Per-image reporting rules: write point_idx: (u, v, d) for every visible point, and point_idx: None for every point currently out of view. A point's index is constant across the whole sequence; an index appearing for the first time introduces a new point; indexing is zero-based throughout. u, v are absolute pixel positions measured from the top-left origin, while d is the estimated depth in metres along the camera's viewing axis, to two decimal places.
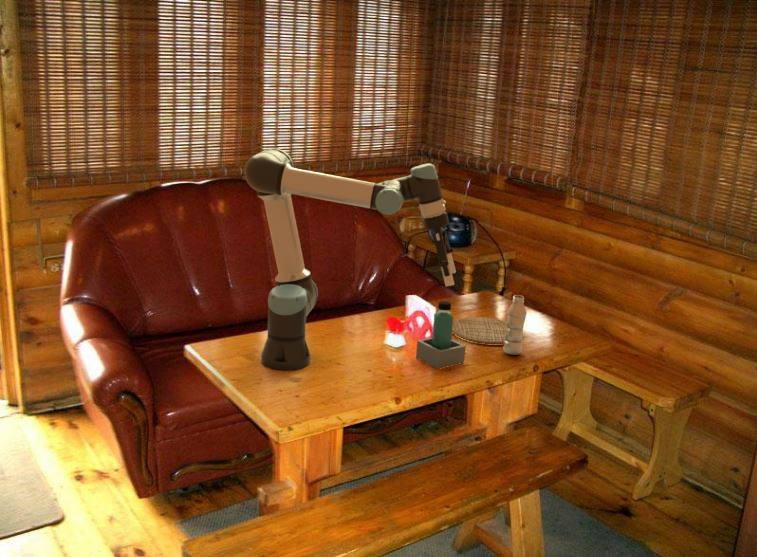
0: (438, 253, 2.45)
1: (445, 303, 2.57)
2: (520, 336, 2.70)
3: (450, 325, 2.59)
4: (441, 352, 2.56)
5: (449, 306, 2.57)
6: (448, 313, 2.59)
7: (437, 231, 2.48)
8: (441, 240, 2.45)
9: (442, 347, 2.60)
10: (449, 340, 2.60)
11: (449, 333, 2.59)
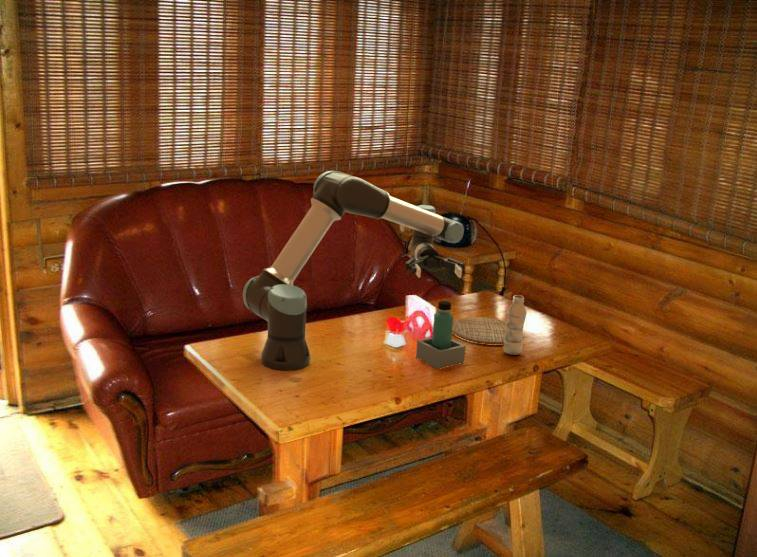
0: None
1: (445, 303, 2.57)
2: (520, 336, 2.70)
3: (450, 325, 2.59)
4: (441, 352, 2.56)
5: (449, 306, 2.57)
6: (448, 313, 2.59)
7: None
8: None
9: (442, 347, 2.60)
10: (449, 340, 2.60)
11: (449, 333, 2.59)
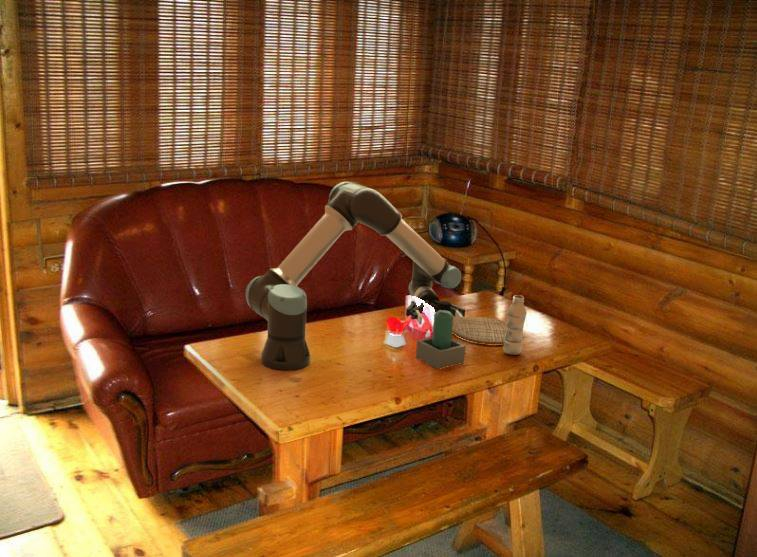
0: None
1: (445, 303, 2.57)
2: (520, 336, 2.70)
3: (450, 325, 2.59)
4: (441, 352, 2.56)
5: (449, 306, 2.57)
6: (448, 313, 2.59)
7: None
8: None
9: (442, 347, 2.60)
10: (449, 340, 2.60)
11: (449, 333, 2.59)
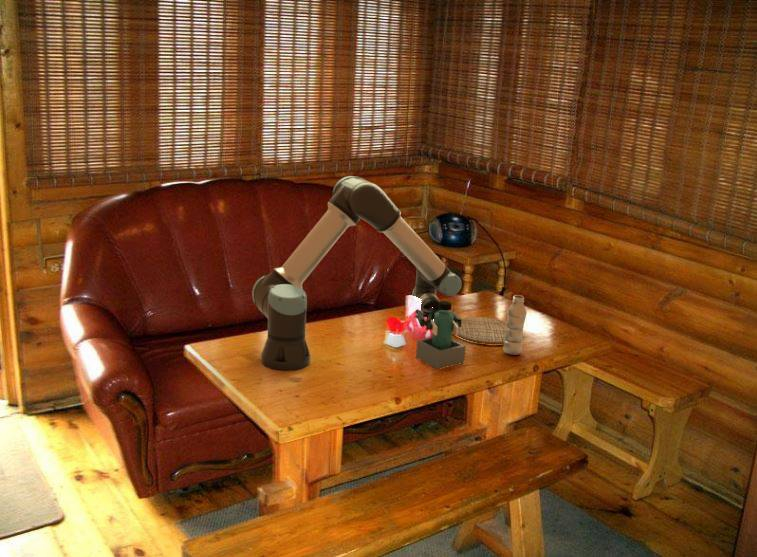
0: None
1: (445, 303, 2.57)
2: (520, 336, 2.70)
3: (450, 325, 2.59)
4: (441, 352, 2.56)
5: (449, 306, 2.57)
6: (448, 313, 2.59)
7: None
8: None
9: (442, 347, 2.60)
10: (449, 340, 2.60)
11: (449, 333, 2.59)
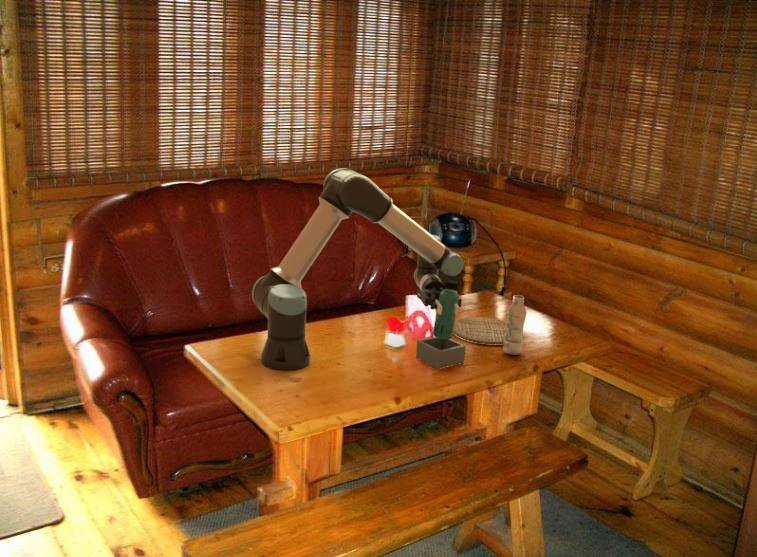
0: None
1: (452, 282, 2.56)
2: (520, 336, 2.70)
3: None
4: (441, 352, 2.56)
5: (456, 285, 2.56)
6: (454, 292, 2.57)
7: None
8: None
9: (446, 326, 2.58)
10: (453, 320, 2.59)
11: (454, 313, 2.58)
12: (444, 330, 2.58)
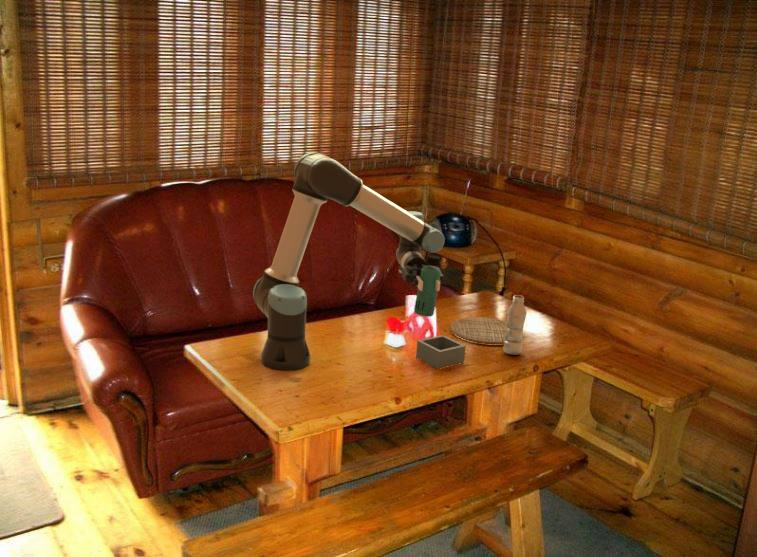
0: None
1: (434, 257, 2.49)
2: (520, 336, 2.70)
3: None
4: (441, 352, 2.56)
5: (438, 261, 2.49)
6: (436, 268, 2.50)
7: None
8: None
9: (427, 303, 2.51)
10: (435, 296, 2.52)
11: (435, 289, 2.51)
12: (425, 307, 2.51)
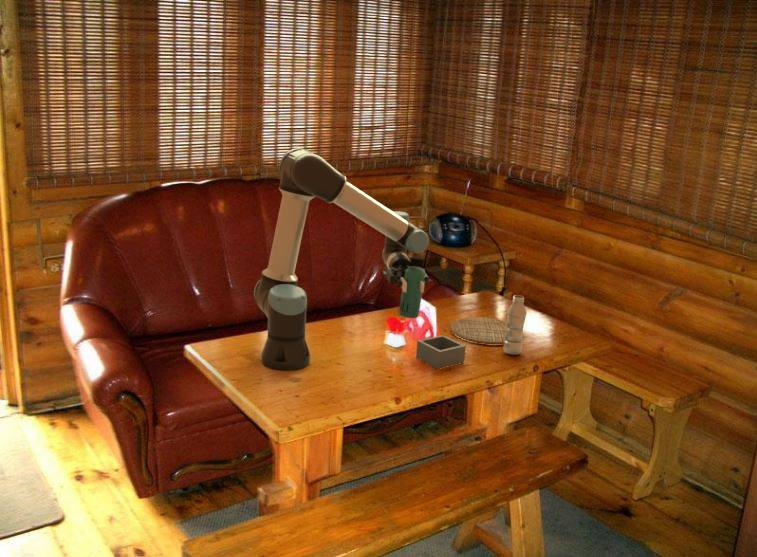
0: None
1: (418, 258, 2.46)
2: (520, 336, 2.70)
3: None
4: (441, 352, 2.56)
5: (422, 262, 2.46)
6: (420, 269, 2.47)
7: None
8: None
9: (412, 305, 2.48)
10: (419, 298, 2.49)
11: None
12: (410, 309, 2.48)
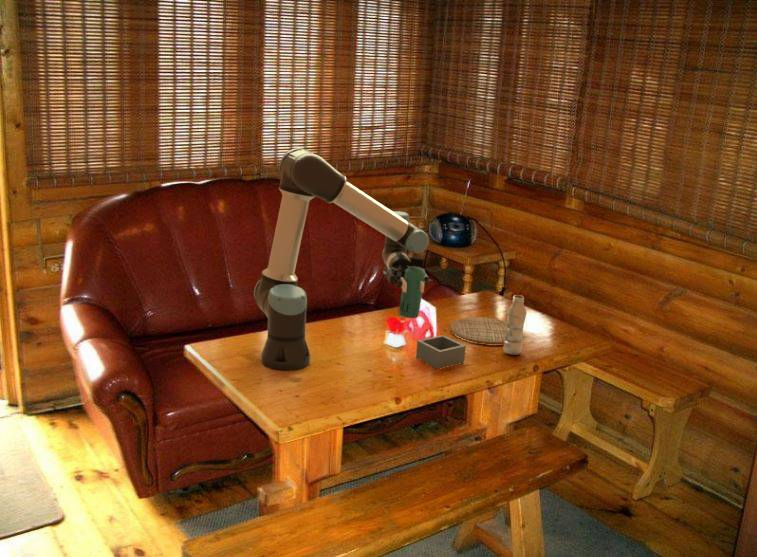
0: None
1: (418, 258, 2.46)
2: (520, 336, 2.70)
3: None
4: (441, 352, 2.56)
5: (422, 262, 2.46)
6: (420, 269, 2.47)
7: None
8: None
9: (412, 305, 2.48)
10: (419, 298, 2.49)
11: None
12: (410, 309, 2.48)
